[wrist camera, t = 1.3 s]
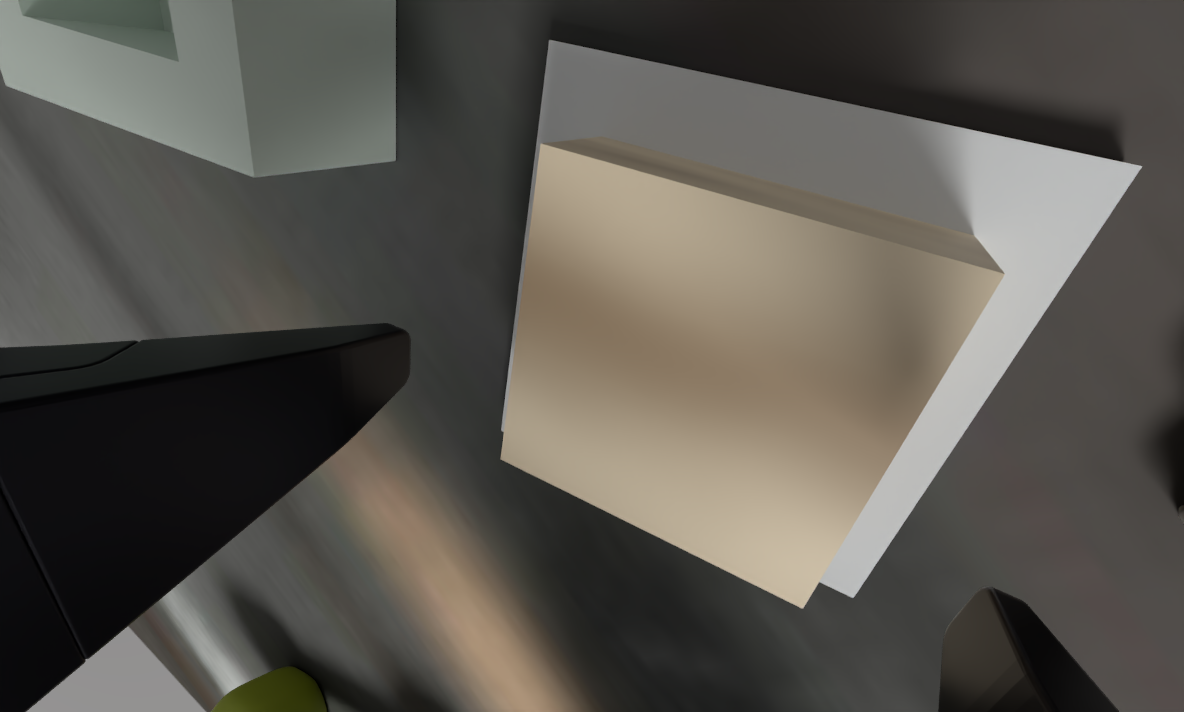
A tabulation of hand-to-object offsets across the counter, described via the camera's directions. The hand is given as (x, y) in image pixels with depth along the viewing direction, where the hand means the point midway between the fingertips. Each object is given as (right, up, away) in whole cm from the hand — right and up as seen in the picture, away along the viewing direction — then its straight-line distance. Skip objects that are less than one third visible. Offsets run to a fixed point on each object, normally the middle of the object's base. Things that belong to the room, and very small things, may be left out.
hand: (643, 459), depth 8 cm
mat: (+2, +2, +4) cm, 5 cm away
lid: (+2, +2, +4) cm, 5 cm away
